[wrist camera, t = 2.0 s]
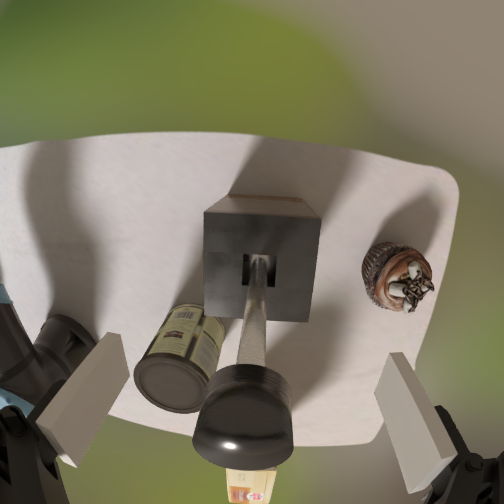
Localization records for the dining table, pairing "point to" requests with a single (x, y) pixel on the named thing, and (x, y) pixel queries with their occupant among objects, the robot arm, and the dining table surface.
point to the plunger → (247, 392)
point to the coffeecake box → (250, 485)
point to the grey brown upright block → (260, 243)
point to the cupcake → (396, 277)
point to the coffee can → (181, 360)
